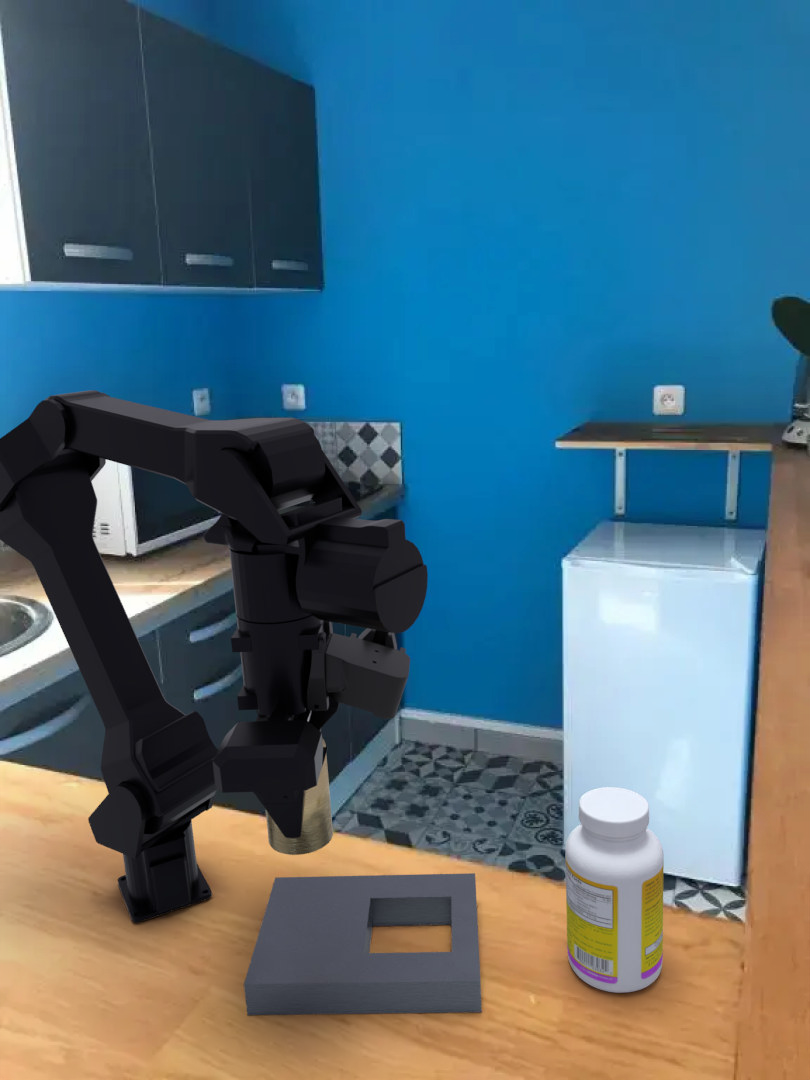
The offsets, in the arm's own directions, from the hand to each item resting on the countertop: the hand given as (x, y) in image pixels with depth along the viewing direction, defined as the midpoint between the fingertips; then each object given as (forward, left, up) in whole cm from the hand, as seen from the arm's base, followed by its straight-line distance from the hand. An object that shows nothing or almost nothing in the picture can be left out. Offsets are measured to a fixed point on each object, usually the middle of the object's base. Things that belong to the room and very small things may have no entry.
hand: (298, 817), depth 67 cm
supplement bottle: (+12, +18, -12) cm, 25 cm away
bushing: (0, 0, -2) cm, 2 cm away
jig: (+2, +4, -12) cm, 12 cm away
